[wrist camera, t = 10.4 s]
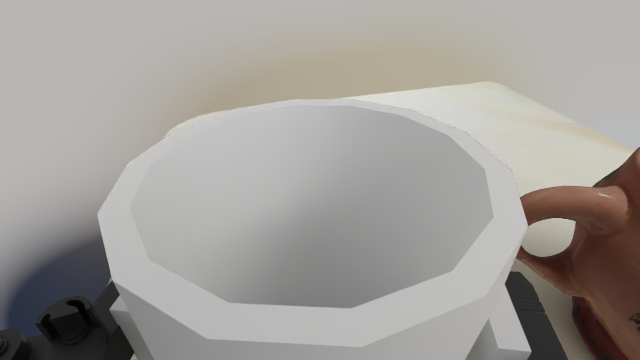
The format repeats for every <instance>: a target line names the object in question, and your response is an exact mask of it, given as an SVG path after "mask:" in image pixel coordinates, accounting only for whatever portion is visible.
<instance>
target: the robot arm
mask: <svg viewBox="0 0 640 360" xmlns="http://www.w3.org/2000/svg"><path fill="white" fill-rule="evenodd" d="M35 324H36V326H37V327H38V328H39V330H40V331H41V332H42V333H43V335H39V336H34V337H29V338H25V337H24V336H23V335H22V334H21V333H20V332H19V331H17V330H16V329H15V330H14V329H6V330H2V331H0V360H130V359H131V357H132V356H133V354H135V356H136V357H137V359H138V360H154V359H153V357H152V355H151V353H150V351H149V349H148V347H147V345H146V343H145V342H144V340H143V338H142V336H141V334H140V332H139V330H138V328H137V326H136V324H135V322H134V320H133V319H132V317H131V315H130V313H129V311H128V309H127V307H126V305H125V303H124V301H123V299H122V298H121V296H120V294H119V292H118V290H117V288H116V286H115V284H114V282H113V280H112V281H111V282H110V284H109V285H108V286H107V287H106V289H105V290H104V291H103V293H102V294H101V295H100V296H99V298H98V299H97V300H96V301H95V303H94V304H93V305H91V303H90V302H89V301H88V300H87V299H86V298H85V297H80V296H74V297H68V298H66V299H63V300H60V301H58V302H56V303H55V304H53V305H52V306H50V307H48V308H47V309H46V310H45V311H44V312H43V313H42V314H41V315H40V316H39V318H38V320H37V322H36V323H35ZM465 360H568V358H567V356H566V354H565V352H564V350H563V348H562V346H561V344H560V342H559V339H558V337H557V335H556V333H555V331H554V329H553V327H552V325H551V323H550V321H549V319H548V317H547V315H546V314H545V310H544V308H543V306H542V304H541V302H539V298H538V296H537V294H536V292H535V290H534V288H533V286H532V284H531V283H530V282H529V281H528V280H527V279H526V278H525V277H524V276H523V275H522V274H521V273H520V272H513V271H510V272H509V275H508V277H507V280H506V282H505V284H504V287H503V289H502V292H501V294H500V297H499V299H498V301H497V304H496V306H495V308H494V309H493V311H492V313H491V315H490V316H489V318H488V320H487V322H486V323H485V325H484V327H483V329H482V330H481V332H480V334H479V336H478V338H477V339H476V341H475V343H474V345H473V346H472V348H471V350H470V352H469V353H468V355H467V357H466V359H465Z"/></svg>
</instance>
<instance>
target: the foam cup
mask: <svg viewBox="0 0 640 360" xmlns="http://www.w3.org/2000/svg"><path fill="white" fill-rule="evenodd" d="M97 216H98V221H99V225H100V229H101V233H102V238H103V242H104V246H105V250H106V254H107V259H108V263H109V267H110V272H111V276H112V280H113V282H114V284H115V286H116V288H117V290H118V292H119V294H120V296H121V298H122V299H123V301H124V303H125V305H126V307H127V309H128V311H129V313H130V315H131V317H132V319H133V320H134V322H135V324H136V326H137V328H138V330H139V332H140V334H141V336H142V338H143V340H144V342H145V343H146V345H147V347H148V349H149V351H150V353H151V355H152V357H153V359H154V360H465V359H466V357H467V355H468V353H469V352H470V350H471V348H472V346H473V345H474V343H475V341H476V339H477V338H478V336H479V334H480V332H481V330H482V329H483V327H484V325H485V323H486V322H487V320H488V318H489V316H490V315H491V313H492V311H493V309H494V308H495V306H496V304H497V301H498V299H499V297H500V294H501V292H502V289H503V287H504V284H505V282H506V280H507V277H508V275H509V272H510V270H511V267H512V265H513V263H514V260H515V258H516V255H517V253H518V250H519V248H520V246H521V243H522V241H523V238H524V236H525V233H526V231H527V229H528V224H527V220H526V217H525V214H524V210H523V207H522V204H521V200H520V197H519V194H518V191H517V187H516V184H515V181H514V177H513V174H512V171H511V169H510V168H509V167H507V166H506V165H505V164H504V163H503V162H501V161H500V160H499V159H498V158H497V157H496V156H494V155H493V154H492V153H491V152H490V151H488V150H487V149H486V148H485V147H484V146H482V145H481V144H480V143H479V142H478V141H477V140H475V139H474V138H473V137H472V136H471V135H469V134H468V133H467V132H465V131H463V130H460V129H458V128H455V127H453V126H450V125H448V124H445V123H443V122H441V121H438V120H436V119H433V118H431V117H428V116H426V115H423V114H421V113H418V112H416V111H413V110H410V109H404V108H399V107H393V106H387V105H381V104H376V103H370V102H364V101H358V100H340V99H293V100H287V101H280V102H274V103H268V104H261V105H255V106H249V107H242V108H236V109H233V110H230V111H227V112H225V113H222V114H219V115H216V116H213V117H211V118H208V119H205V120H202V121H199V122H196V123H194V124H191V125H188V126H185V127H182V128H179V129H178V130H176V131H175V132H173V133H172V134H170V135H169V136H167V137H166V138H164V139H163V140H161V141H160V142H159V143H157V144H155V145H154V146H152V147H151V148H149V149H148V150H147V151H145V152H144V153H142V154H141V155H139V156H138V157H136V158H135V159H133V160H132V161H130V162H129V163H128V164H127V166H126V167H125V169H124V171H123V172H122V174H121V176H120V177H119V179H118V180H117V182H116V184H115V186H114V187H113V189H112V190H111V192H110V194H109V195H108V197H107V199H106V200H105V202H104V204H103V205H102V207H101V209H100V210H99V212H98V213H97Z"/></svg>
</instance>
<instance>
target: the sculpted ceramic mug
mask: <svg viewBox="0 0 640 360" xmlns="http://www.w3.org/2000/svg"><path fill="white" fill-rule="evenodd" d="M520 200H521V204H522V207H523V210H524V214H525V217H526V220H527V224H528V226H530V225H531V224H533V223H535V222H538V221H541V220H544V219H549V218H563V219H569V220H573V221H576V225H575V231H574V235H573V239H572V242H571V244H570V245H569V247H567V248H566V249H565V250H564V251H562V252H560V253H558V254H556V255H553V256H548V257H537V256H534V255H531V254H529V253H528V252H526V251H525V250H524V249H523V247H522V246H520V248H519V250H518V253H517V255H516V258H517V259H518V260H520V261H521V262H523V263H524V264H525V265H527V266H528V267H529V268H531V269H532V270H533V271H534V272H536V273H537V274H538V275H539V276H541V277H542V278H544V279H545V280H547V281H548V282H550V283H551V284H553V285H554V286H555V287H557V288H558V289H559V290H561V291H562V292H564V293H566V294H568V295H571V296H572V301H573V310H572V316H573V320H574V322H575V324H576V326H577V328H578V330H579V332H580V334H581V336H582V338H583V340H584V341H585V343H586V345H587V346H588V348H589V349H590V351H591V352H592V353H593V354H594V356H595V357H596V358H597V359H598V360H640V147H639V148H638V149H637V150H636V151H635V152H634V153H633V154H632V155H631V156H630V157H629V158H628V160H627V161H626V162H625V163H624V164H623V165H621V166H620V167H619V168H618V169H616V170H615V171H613V172H612V173H610V174H609V175H607V176H606V177H604V178H603V179H601V180H600V181H599V182H597V183H596V184H595V185H594V186H592V187H581V186H559V187H551V188H546V189H540V190H537V191H533V192H530V193H528V194H525V195H523V196H522V197H520Z"/></svg>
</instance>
